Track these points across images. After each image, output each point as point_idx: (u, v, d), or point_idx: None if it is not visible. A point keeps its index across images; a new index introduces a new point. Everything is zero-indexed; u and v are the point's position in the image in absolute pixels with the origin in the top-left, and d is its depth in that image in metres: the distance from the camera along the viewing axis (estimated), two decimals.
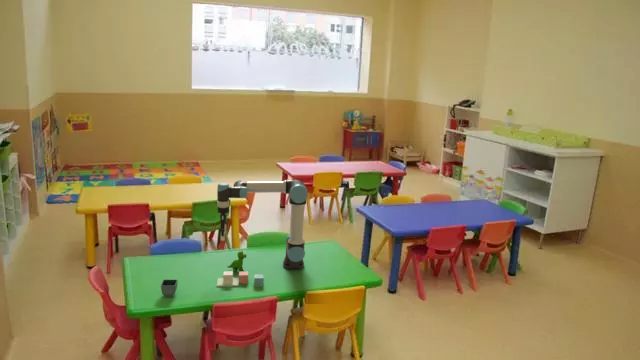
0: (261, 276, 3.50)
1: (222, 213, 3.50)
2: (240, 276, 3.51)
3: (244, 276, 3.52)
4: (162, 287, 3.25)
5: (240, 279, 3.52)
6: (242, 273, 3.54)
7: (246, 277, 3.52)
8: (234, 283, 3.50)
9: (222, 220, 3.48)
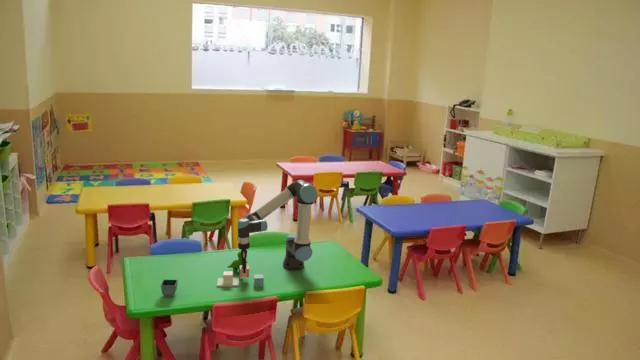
0: (261, 276, 3.50)
1: (243, 249, 3.46)
2: (241, 270, 3.50)
3: None
4: (162, 287, 3.25)
5: (241, 273, 3.51)
6: None
7: (247, 271, 3.51)
8: (234, 283, 3.50)
9: (243, 258, 3.45)
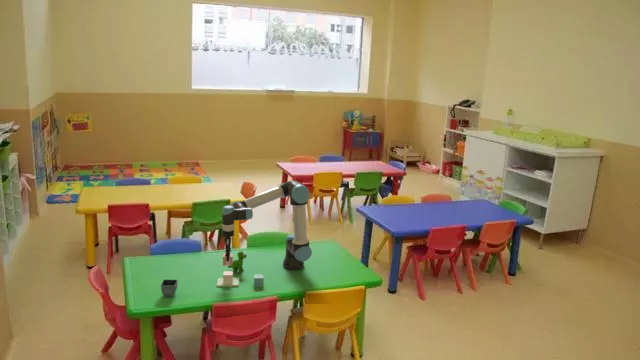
0: (261, 276, 3.50)
1: (227, 237, 3.41)
2: (224, 258, 3.45)
3: None
4: (162, 287, 3.25)
5: (224, 261, 3.45)
6: None
7: (230, 259, 3.45)
8: (234, 283, 3.50)
9: (227, 246, 3.39)
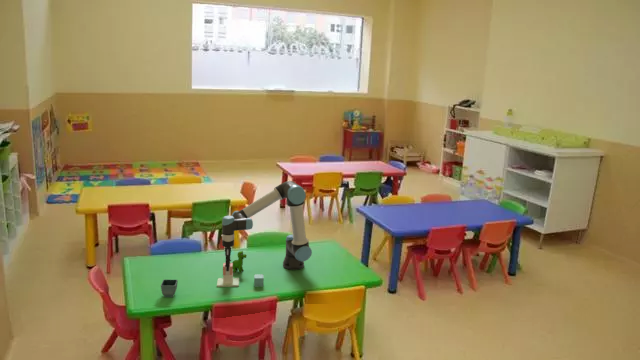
0: (261, 276, 3.50)
1: (227, 247, 3.42)
2: (224, 267, 3.46)
3: None
4: (162, 287, 3.25)
5: (224, 270, 3.47)
6: None
7: (230, 268, 3.47)
8: (234, 283, 3.50)
9: (227, 256, 3.41)
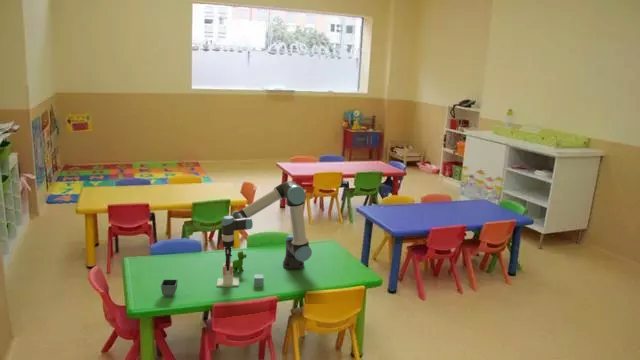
0: (261, 276, 3.50)
1: (227, 247, 3.42)
2: (224, 267, 3.46)
3: None
4: (162, 287, 3.25)
5: (224, 270, 3.47)
6: None
7: (230, 268, 3.47)
8: (234, 283, 3.50)
9: (227, 254, 3.40)
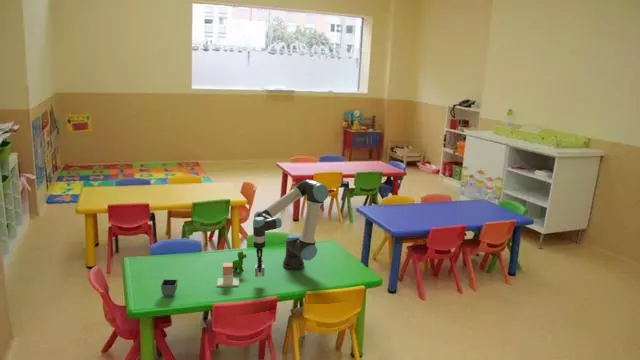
0: (262, 266, 3.49)
1: (259, 248, 3.42)
2: (224, 267, 3.46)
3: (228, 267, 3.47)
4: (162, 287, 3.25)
5: (224, 270, 3.47)
6: (227, 264, 3.50)
7: (230, 268, 3.47)
8: (234, 283, 3.50)
9: (259, 257, 3.41)
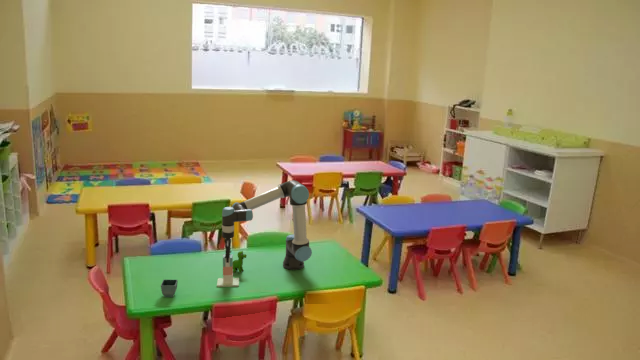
0: (230, 256, 3.47)
1: (227, 238, 3.41)
2: (224, 267, 3.46)
3: (228, 267, 3.47)
4: (162, 287, 3.25)
5: (224, 270, 3.47)
6: None
7: (230, 268, 3.47)
8: (234, 283, 3.50)
9: (227, 247, 3.40)
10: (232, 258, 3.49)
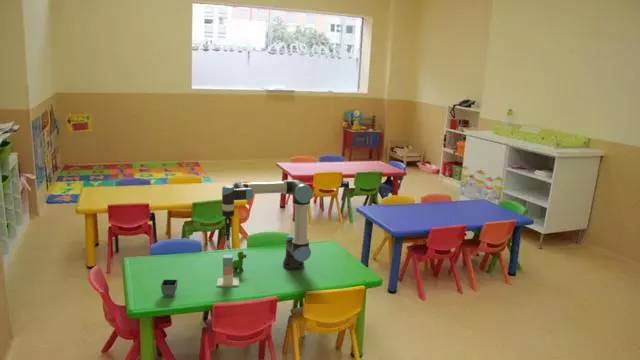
0: (230, 256, 3.47)
1: (227, 216, 3.39)
2: (224, 267, 3.46)
3: (228, 267, 3.47)
4: (162, 287, 3.25)
5: (224, 270, 3.47)
6: None
7: (230, 268, 3.47)
8: (234, 283, 3.50)
9: (227, 224, 3.37)
10: (232, 258, 3.49)
